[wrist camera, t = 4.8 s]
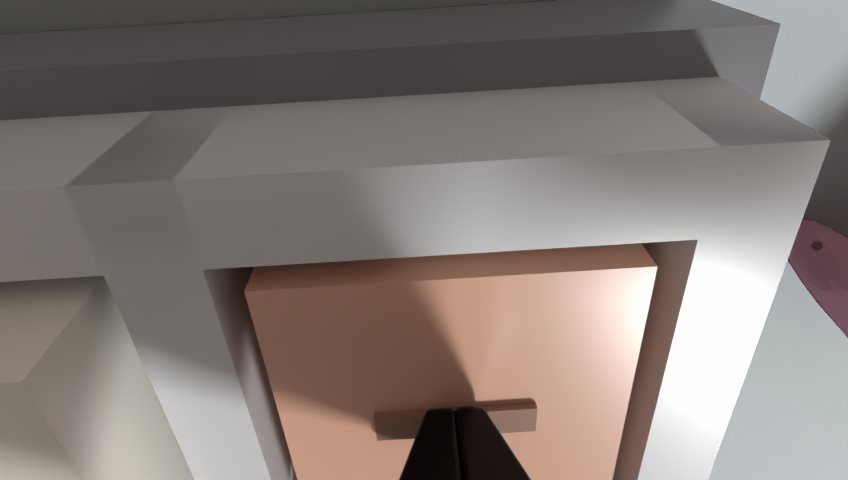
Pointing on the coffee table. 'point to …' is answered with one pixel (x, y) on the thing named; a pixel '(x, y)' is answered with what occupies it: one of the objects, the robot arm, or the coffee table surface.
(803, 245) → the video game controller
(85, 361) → the cream key
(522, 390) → the peach flat square block
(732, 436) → the coffee table surface
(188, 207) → the keypad
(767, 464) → the coffee table surface
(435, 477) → the robot arm
